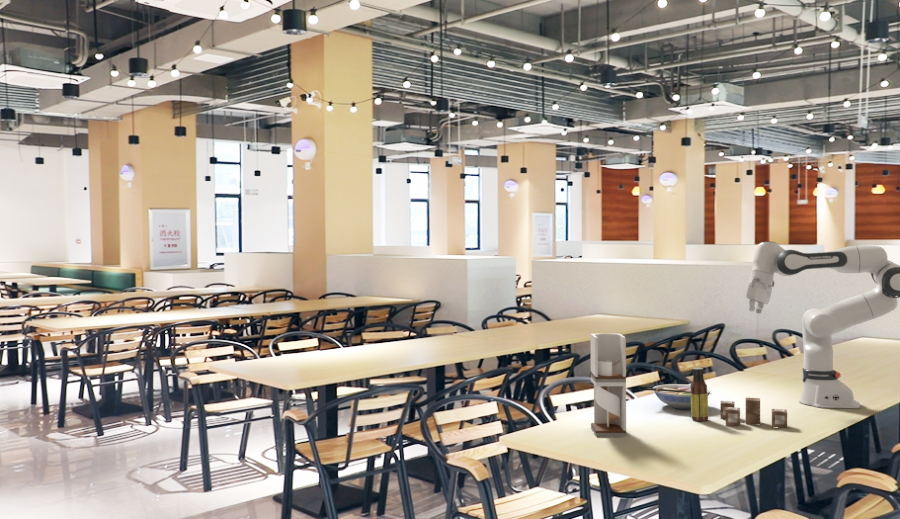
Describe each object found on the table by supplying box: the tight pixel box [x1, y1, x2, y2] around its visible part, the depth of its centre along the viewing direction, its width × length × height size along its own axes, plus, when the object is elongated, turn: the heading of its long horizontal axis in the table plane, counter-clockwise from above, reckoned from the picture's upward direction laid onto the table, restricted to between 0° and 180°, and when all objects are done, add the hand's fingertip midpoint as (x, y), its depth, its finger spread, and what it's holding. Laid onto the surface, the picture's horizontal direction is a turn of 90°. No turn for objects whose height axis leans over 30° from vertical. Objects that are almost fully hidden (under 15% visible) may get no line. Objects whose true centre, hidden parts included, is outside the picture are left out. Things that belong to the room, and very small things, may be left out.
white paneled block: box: [720, 400, 736, 420], centre depth 300 cm, size 5×5×6 cm
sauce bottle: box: [689, 367, 709, 422], centre depth 296 cm, size 6×6×20 cm
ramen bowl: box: [646, 383, 712, 410], centre depth 319 cm, size 25×23×8 cm
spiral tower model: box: [589, 332, 627, 437], centre depth 279 cm, size 11×11×35 cm
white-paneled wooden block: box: [725, 407, 741, 427], centre depth 289 cm, size 5×5×6 cm
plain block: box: [745, 397, 761, 425], centre depth 291 cm, size 5×5×9 cm
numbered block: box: [771, 408, 788, 429], centre depth 285 cm, size 5×5×6 cm
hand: (755, 312), depth 323 cm, fingers open, 8 cm apart
